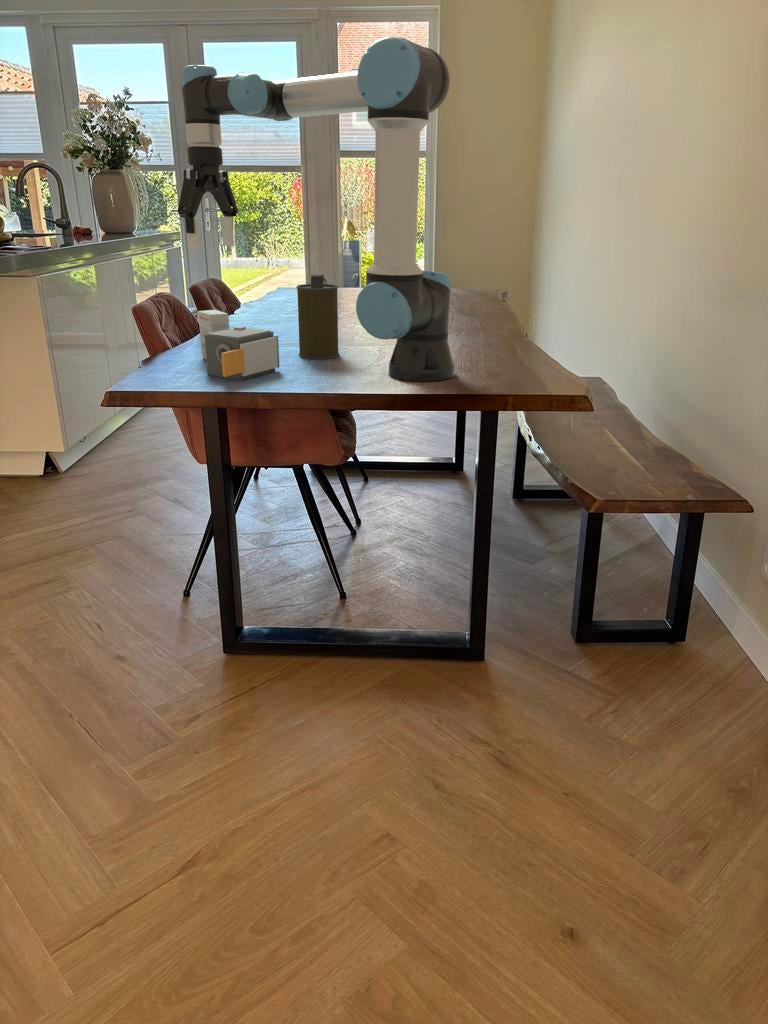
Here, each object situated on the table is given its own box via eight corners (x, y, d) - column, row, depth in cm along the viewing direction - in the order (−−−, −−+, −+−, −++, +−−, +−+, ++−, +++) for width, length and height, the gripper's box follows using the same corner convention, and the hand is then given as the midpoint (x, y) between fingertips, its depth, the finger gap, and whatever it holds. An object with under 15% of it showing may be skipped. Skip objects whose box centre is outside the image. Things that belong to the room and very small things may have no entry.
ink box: (233, 362, 188) (230, 313, 184) (214, 364, 186) (210, 314, 181) (219, 356, 195) (216, 309, 190) (201, 358, 192) (196, 310, 188)
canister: (338, 359, 192) (337, 277, 184) (296, 359, 192) (293, 276, 184) (340, 351, 202) (339, 272, 194) (300, 351, 202) (298, 272, 194)
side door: (280, 367, 179) (278, 336, 176) (226, 381, 164) (223, 348, 162) (277, 366, 179) (275, 335, 177) (222, 381, 165) (220, 347, 162)
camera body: (275, 370, 179) (273, 328, 176) (238, 380, 169) (235, 336, 166) (242, 365, 184) (240, 324, 180) (204, 375, 174) (201, 331, 170)
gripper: (222, 149, 181) (228, 244, 189) (154, 143, 160) (164, 249, 168) (249, 149, 179) (254, 245, 187) (184, 142, 157) (192, 250, 165)
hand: (211, 247), depth 177 cm, fingers open, 13 cm apart
